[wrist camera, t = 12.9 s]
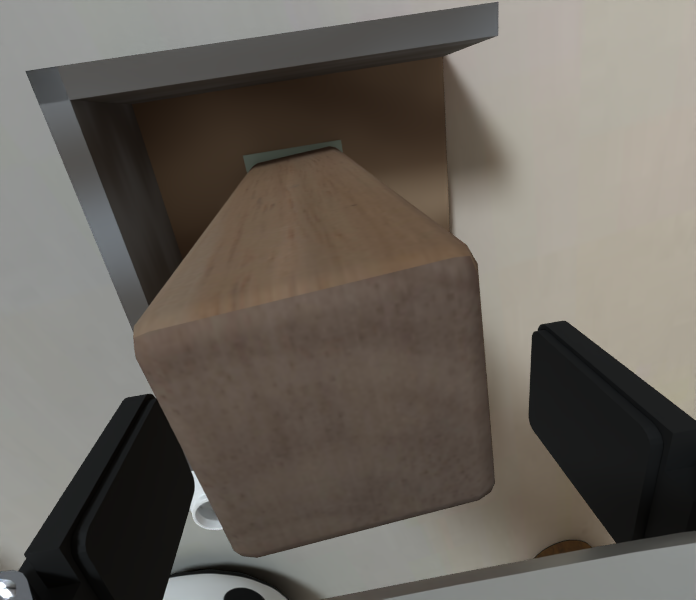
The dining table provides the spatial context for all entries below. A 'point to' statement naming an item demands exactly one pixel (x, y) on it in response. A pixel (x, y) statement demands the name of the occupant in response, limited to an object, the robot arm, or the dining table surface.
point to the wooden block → (322, 358)
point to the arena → (247, 127)
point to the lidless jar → (203, 509)
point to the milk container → (219, 587)
